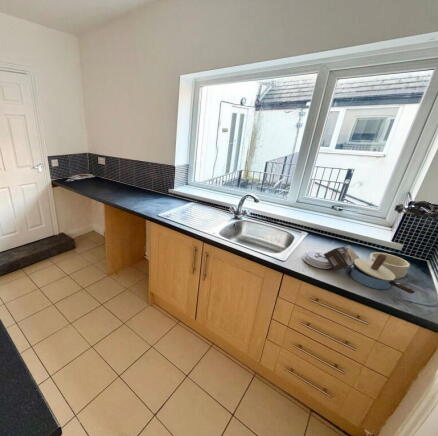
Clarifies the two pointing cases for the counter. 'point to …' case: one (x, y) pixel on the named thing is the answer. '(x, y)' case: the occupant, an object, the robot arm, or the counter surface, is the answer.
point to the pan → (376, 281)
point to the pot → (393, 264)
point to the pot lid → (375, 268)
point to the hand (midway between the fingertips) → (411, 213)
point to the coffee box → (341, 257)
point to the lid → (317, 259)
